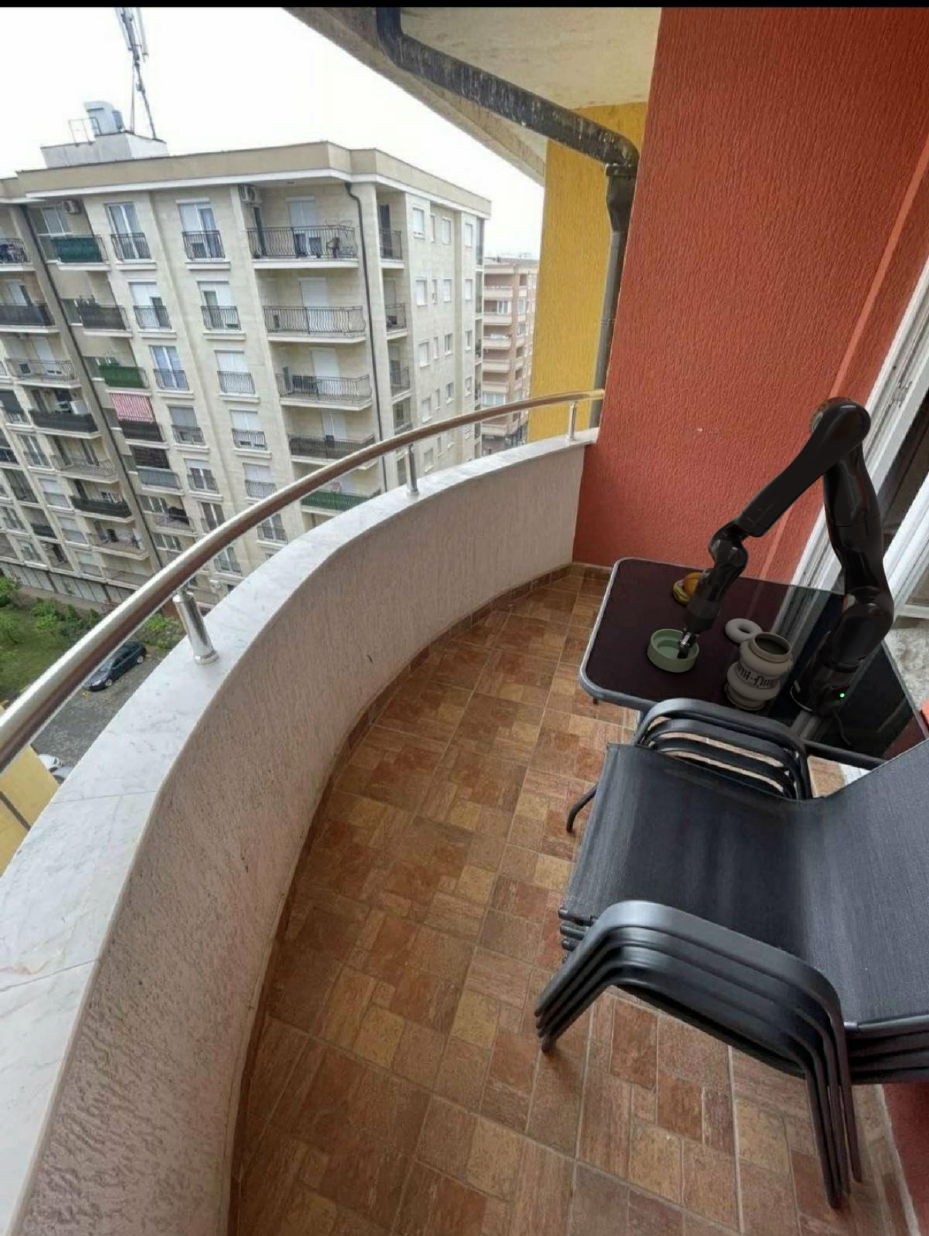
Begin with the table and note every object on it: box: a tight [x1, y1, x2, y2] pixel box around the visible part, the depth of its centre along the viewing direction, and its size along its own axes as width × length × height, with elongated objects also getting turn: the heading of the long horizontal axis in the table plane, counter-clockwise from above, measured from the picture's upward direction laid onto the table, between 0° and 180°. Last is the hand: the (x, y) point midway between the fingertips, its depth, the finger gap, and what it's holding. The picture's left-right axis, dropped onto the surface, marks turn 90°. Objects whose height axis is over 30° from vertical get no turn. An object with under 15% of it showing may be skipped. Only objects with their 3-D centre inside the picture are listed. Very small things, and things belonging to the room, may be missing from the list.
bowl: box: [646, 628, 700, 673], centre depth 147 cm, size 12×12×5 cm
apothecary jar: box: [723, 631, 794, 711], centre depth 133 cm, size 12×12×18 cm
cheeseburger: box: [672, 571, 702, 606], centre depth 166 cm, size 10×11×10 cm
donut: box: [724, 617, 764, 645], centre depth 155 cm, size 10×4×10 cm
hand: (681, 658), depth 146 cm, fingers closed
